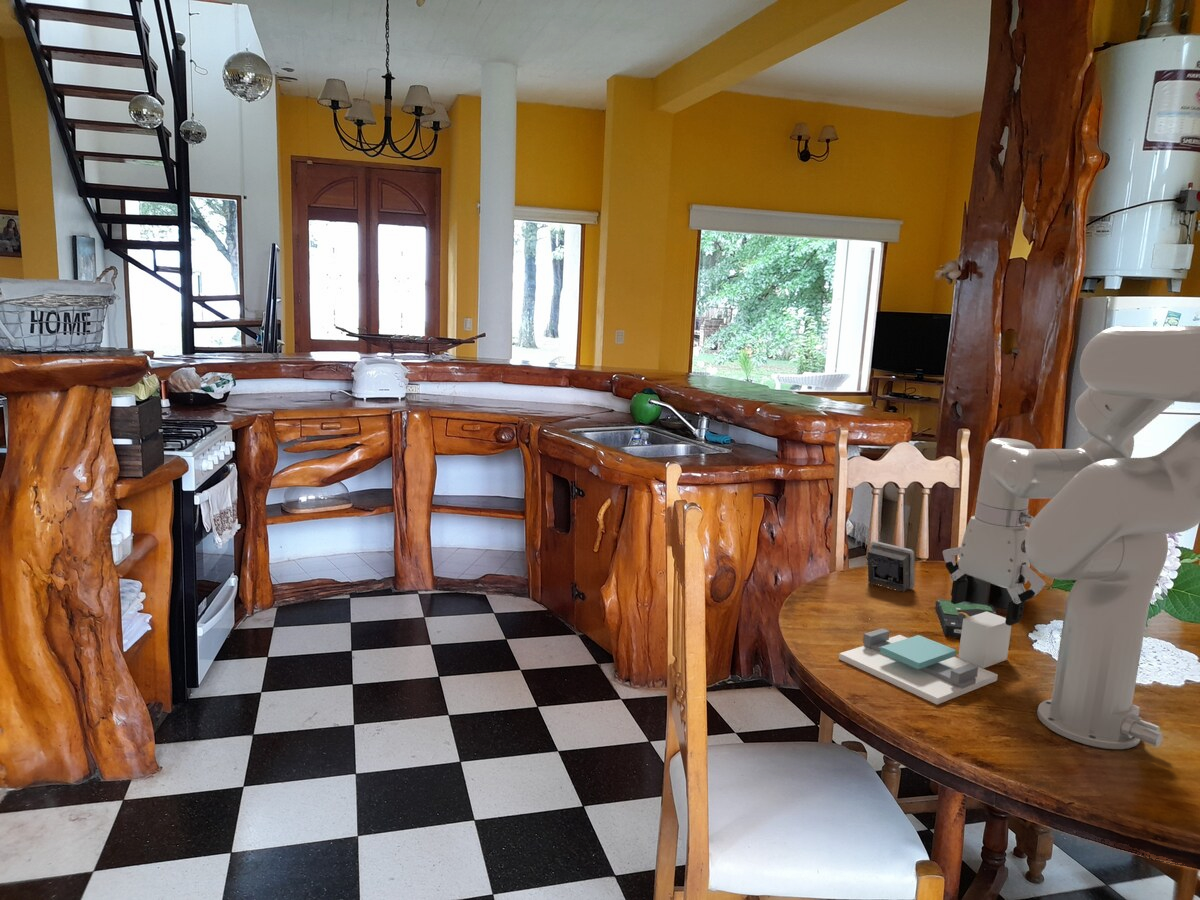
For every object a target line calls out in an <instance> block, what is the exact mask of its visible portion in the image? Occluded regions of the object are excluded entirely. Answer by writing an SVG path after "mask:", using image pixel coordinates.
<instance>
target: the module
mask: <svg viewBox="0 0 1200 900" xmlns="http://www.w3.org/2000/svg"><path fill="white" fill-rule="evenodd" d="M1005 621H1006V617H1004V616H1001V615H998V614H997V615H996V614H993V613H990V612H983V613H980V614H977V615H974V616H970V617H967V618H964V619H963V624H962V632H961V638H960V641H959V642H960V643H959V647H958V656H957V658H958V659H961V660H963V661H966V662H968V663H971V664H973V665H975V666H978V667H980V668H983V669H985V668H988V667H990V666H993V665H996V664H998V663H1001V662H1004V661H1007V660H1008V654H1009V649H1010V648H1009V647H1010V640H1011V631H1012V626H1013V625H1011V626H1009V625H1006V623H1005Z"/></svg>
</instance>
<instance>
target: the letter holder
mask: <svg viewBox="0 0 1200 900" xmlns="http://www.w3.org/2000/svg"><path fill="white" fill-rule="evenodd" d="M965 579H968V586H967V592H966V599H965V601H964V602H971V603H979V604H987V605H992V606H993V608H994V609H995V611H996V613H997V614H1003V615H1007V610H1008V604H1009V602H1011V601H1012V598H1011V596H1010V594H1009V592H1008V590H1007V588H1003V587H1000V586H997V585H994V584H991V583H989V582H986V581H983V580H980V579H977V578H975V577H972V576H969V575H968V576H966V578H965Z"/></svg>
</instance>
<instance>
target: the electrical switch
mask: <svg viewBox="0 0 1200 900" xmlns="http://www.w3.org/2000/svg"><path fill="white" fill-rule="evenodd" d="M866 553H867V576H868V577H867V578H868V579H867V580H868V582H867V583H868V584H870V583H871V585H874V584H877V585H878V584H879V585H882V586H884V587H883V588H885V587H889V588H892V589H896V590H899V591H898V592H900V591H903V592H902V593H905V592H906V591H907V590H909V589H911V590H910V591H912V590H913V589H914V588H915V586H916V585H915V584H916V582H915V581H916V580H915V579H916V577H915V575H916V574H915V564H916V563H915V551H914V550H913V549H911V548H906V547H902V546H898V545H894V544H890V543H889V544H888V543H884V542H880V541H876V540H873V541H871V542H870V543H869V550H867V552H866ZM887 583H888V584H887ZM877 585H876V586H877ZM889 588H888V589H889ZM892 589H891V590H892ZM896 590H895V591H896Z"/></svg>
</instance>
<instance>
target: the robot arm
mask: <svg viewBox="0 0 1200 900" xmlns="http://www.w3.org/2000/svg"><path fill="white" fill-rule="evenodd" d="M1080 356H1081V357H1080V359H1079V373H1080V377H1081V378H1082V380H1083V382H1084V383H1085V384H1086V385H1087V386H1088V388H1086V389H1085V390H1084V391H1083V392H1082V393H1081V394H1080V395H1079V396H1078V397H1077V399H1076V401H1075V405H1074V413H1075V416H1076V418H1077V421H1078V422H1079V423H1080V425H1081V427H1082V428H1083V429H1084V430H1085V431H1086V432H1087V433H1089V435H1091V437H1089V438H1088V439H1087V440H1086V441H1085V442H1084V443H1083V444H1081V445H1080V446H1078V447H1077V448H1074V449H1073V448H1072V449H1071V448H1036V446H1035V444H1033V443H1031V442H1029V441H1026V440H1020V439H1016V438H1009V437H997V438H992V439H990V440H988V441H987V443H986V445H985V447H984V453H983V459H982V465H981V473H980V477H979V484H978V491H977V497H976V503H975V510H974V515H972V516H971V517H970V518H969V521H968V523H967V525H966V528H965V531H964V535H963V538H962V542H961V546H958V547H953V548H947V549H943V551H942V556H943V559H944V562H945V567H946V569H947V571H948V572H949V574H950V580H951V581H952V584H951V585H952V586H951V593H950V596H951V599H950V601H951V603H953V604H958V603H961V602H964V601H965V599H966V592H967V586H968V579H965V578H966V576H968V575H969V576H972V577H975V578H977V579H980V580H983V581H986V582H989V583H991V584H994V585H997V586H1000V587H1003V588H1007V590H1008V592H1009V594H1010V596H1011V598H1012V601H1011V602H1009V604H1008V610H1007V614H1005V615H1006V617H1005V618H1006V621H1005V623H1006V625H1009V626H1011V625H1012V626H1014V625H1016V624H1018V623H1019V622H1021V620H1022V619H1023V615H1024V610H1025V605H1026V602H1027V601H1029V600H1030V599H1032V598H1034V597H1037V596H1038V595H1039V593H1040V592H1041V591H1042V590H1043V589H1044V588H1045V587H1046V584H1047V583H1046V581H1045V580H1044V579H1043V578H1042V577H1040V575H1039V574H1037V573H1036V572H1035V571H1034V570H1033V569H1032V568H1030V567H1031V566H1032V567H1033V568H1034V569H1035V570H1036V571H1037V572H1038V573H1040V574H1041V575H1043V576H1045V577H1047V578H1051V579H1054V580H1059V581H1061V580H1062V581H1075V582H1074V583H1073V586H1072V587H1071V589H1070V592H1069V594H1068V597H1067V599H1066V602H1065V603H1066V604H1065V609H1064V614H1063V622H1062V627H1061V634H1060V635H1061V636H1060V642H1059V647H1058V656H1057V662H1056V668H1055V675H1054V681H1053V689H1052V695H1051V698H1050V699H1046V700H1044V701H1042V702H1040V703H1039V705H1038V706H1037V712H1036V715H1037V718H1038V719H1039V721H1040V722H1041V723H1042V724H1043V725H1044V726H1045V727H1047V728H1048V729H1049V730H1051V731H1052V732H1054V733H1056V734H1057V735H1060V736H1061V737H1064V738H1066V739H1069V740H1070V741H1074V742H1077V743H1080V744H1083V745H1085V746H1090V747H1094V748H1099V749H1105V750H1107V749H1108V750H1109V749H1110V750H1125V749H1130V748H1133V747H1136V746H1137V745H1138V744H1140V742H1141V741H1142V742H1144V743H1146V744H1149V745H1151V746H1154V747H1156V748H1158V747H1160V746H1161V744H1162V742H1163V739H1164V737H1163V735H1164V734H1163V733H1162V732H1161V727H1160V726H1159V725H1157V724H1155V723H1152V722H1149V721H1145V720H1143V719H1142V717H1141V716H1139V714H1140V710H1141V709H1140V708H1141V707H1140V706H1138V705H1136V704H1134V703H1133V702H1134V701H1133V700H1134V695H1135V688H1136V684H1137V678H1138V677H1137V676H1138V671H1139V665H1140V659H1141V655H1142V654H1141V653H1142V647H1143V642H1144V635H1145V632H1146V625H1147V621H1148V617H1149V616H1148V615H1149V610H1150V605H1151V602H1152V597H1153V595H1154V594H1153V593H1154V591H1155V588H1156V585H1157V583H1158V581H1159V578H1160V576H1161V573H1162V571H1163V569H1164V566H1165V563H1166V560H1167V557H1168V551H1169V542H1168V537H1167V535H1168V534H1169V535H1171V534H1172V535H1173V534H1179V533H1184V532H1186V531H1189V530H1191V529H1193V528H1195V527H1196V526H1198V525H1199V524H1200V421H1199V422H1197V423H1194V424H1193V425H1192V426H1191V427H1190V428H1188V429H1187V430H1186V431H1185V432H1184V433H1183V434H1182V435H1181V436H1180V437H1179V438H1178V439H1177V440H1176V441H1175V442H1173V443H1172V444H1171V445H1170V446H1168V447H1167V448H1166V449H1164V450H1163V451H1162V452H1160V453H1158V454H1155V455H1152V456H1147V457H1132V454H1133V451H1134V447H1135V435H1137V434H1138V433H1140V431H1142V430H1143V429H1144V428H1145V427H1146V426H1147V425H1149V424H1150V423H1151V422H1152V421H1154V419H1156V418H1157V417H1158V416H1159V415H1160V414H1161V413H1163V412H1164V411H1165V410H1167V409H1168V408H1169V407H1170V406H1172V405H1173V404H1174V403H1175V402H1179V403H1193V404H1197V403H1199V404H1200V325H1197V326H1196V325H1179V326H1178V325H1176V326H1175V325H1173V326H1134V325H1133V326H1130V325H1118V326H1113V327H1109V328H1106V329H1104V330H1102V331H1100V332H1099V333H1096V334H1095V336H1094V337H1092V338H1091V339H1090V340H1089V341H1088V343H1087V344H1086V345H1085V347H1084V348H1083V349H1082V353H1081V355H1080ZM1030 499H1031V500H1032V499H1036V500H1037V499H1039V500H1040V499H1045V500H1046V499H1050V500H1049V501H1048V502H1047V503H1046V505H1044V506H1043V507H1042V509H1040V510H1039V511H1038V513H1037V514H1036V515H1035V516H1033V515H1031V514H1029V510H1030V509H1029V504H1030V503H1029V502H1030ZM1027 524H1028V525H1029V526H1026V525H1027ZM956 556H958V562H957V561H956ZM1028 582H1029V583H1030V587H1029V588H1028V589H1027V590H1026V589H1025V586H1024V585H1025V584H1027V583H1028ZM1012 626H1011V627H1012Z"/></svg>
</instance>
